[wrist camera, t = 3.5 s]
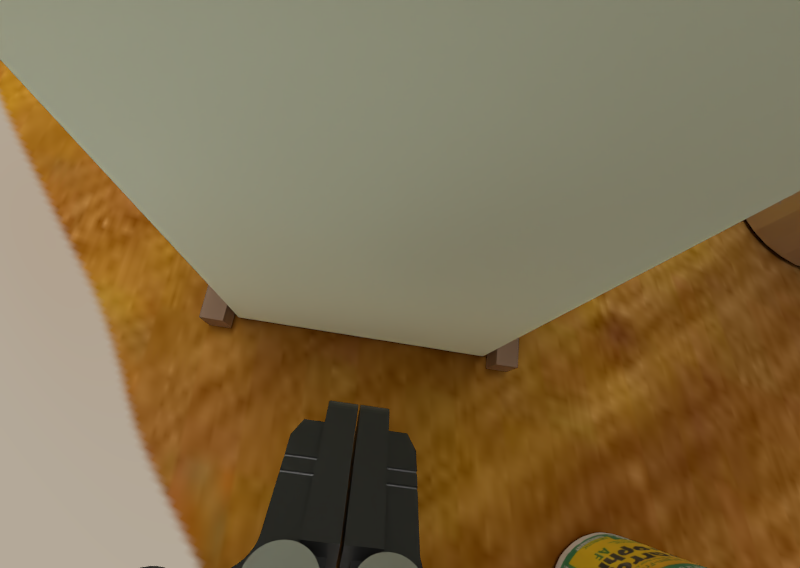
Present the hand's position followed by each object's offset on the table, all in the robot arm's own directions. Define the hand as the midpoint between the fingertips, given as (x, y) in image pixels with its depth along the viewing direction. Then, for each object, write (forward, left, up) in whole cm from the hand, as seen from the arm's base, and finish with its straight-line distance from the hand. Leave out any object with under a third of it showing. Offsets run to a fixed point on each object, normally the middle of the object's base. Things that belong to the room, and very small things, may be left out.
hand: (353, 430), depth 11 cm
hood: (0, -9, -9) cm, 13 cm away
